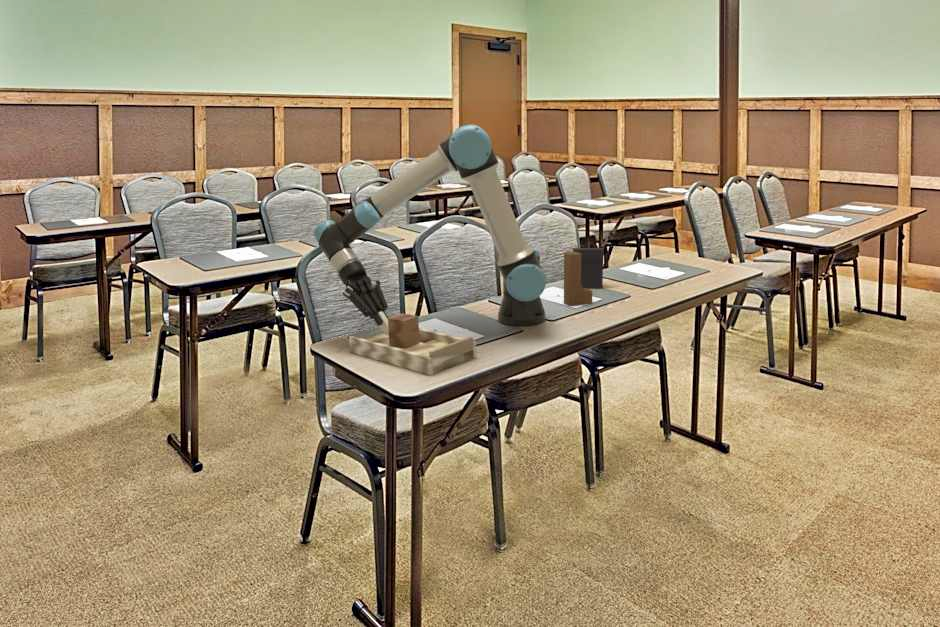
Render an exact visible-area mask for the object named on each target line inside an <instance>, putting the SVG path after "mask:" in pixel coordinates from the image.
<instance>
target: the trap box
mask: <svg viewBox="0 0 940 627" xmlns="http://www.w3.org/2000/svg"><path fill="white" fill-rule="evenodd" d="M348 343H349V344H348V345H349V352H350V353H352V354H355V355H359V356H363V357H366V358H370V359H373V360H377V361H379V360H380V362H382V363H386V362H387V364H390V365H393V366H397V367H401V368H403V369H408V370H411V371H414V372H417V373H421V374H425V375H428V376H431V375H434V374H437V373H439V372H443V371H445V370H447V369H450V368H452V367H453V368H454V366H457V365H460V364H463V363H465V362H469V361H470V360H474V359H475V358H477V356H478V354H477V341H475V340H474V337H473V336H468V337H465V338H462V337H458V336H455V335H454V336H453V335H451V334H450V335H449V334H446V333H442V332H437V331H433V330H429V329H424V328H421V327H419V344H417V345H414V346H411V347H409V348H406V349H404V348H399V347H394V346H390V345H389V335H387V336H386V335H385V333H384V332H382V333H379V334H376V335H372V336H369V337H366V338H361V337H357V336H353V335H351V336H348Z"/></svg>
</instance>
